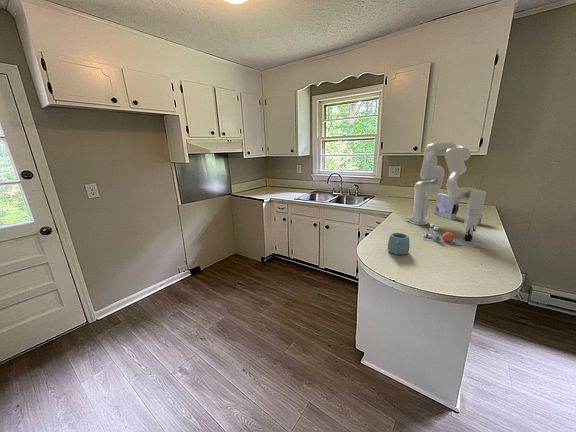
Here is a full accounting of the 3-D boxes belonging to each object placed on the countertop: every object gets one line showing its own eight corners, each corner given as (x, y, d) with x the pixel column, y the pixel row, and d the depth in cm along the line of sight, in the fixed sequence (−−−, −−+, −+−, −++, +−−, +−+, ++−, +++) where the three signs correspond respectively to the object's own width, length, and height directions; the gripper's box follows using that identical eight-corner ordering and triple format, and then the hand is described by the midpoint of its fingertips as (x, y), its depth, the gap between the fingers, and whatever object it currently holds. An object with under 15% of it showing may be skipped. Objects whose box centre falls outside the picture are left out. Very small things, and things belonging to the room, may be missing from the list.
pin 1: (428, 237, 154) (430, 224, 152) (428, 235, 157) (430, 223, 154) (432, 237, 153) (434, 225, 151) (432, 236, 155) (434, 224, 153)
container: (475, 225, 174) (479, 208, 170) (463, 222, 181) (467, 205, 177) (481, 223, 177) (484, 206, 174) (469, 221, 184) (472, 204, 180)
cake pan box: (457, 219, 188) (461, 197, 183) (451, 220, 187) (455, 198, 182) (438, 213, 206) (441, 193, 201) (433, 213, 205) (436, 193, 200)
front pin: (439, 239, 149) (423, 237, 153) (438, 239, 152) (423, 237, 155) (439, 235, 150) (424, 233, 153) (439, 235, 152) (423, 233, 155)
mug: (406, 261, 124) (408, 243, 121) (383, 256, 130) (385, 239, 127) (409, 250, 136) (412, 233, 134) (389, 246, 142) (390, 230, 139)
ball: (447, 234, 142) (457, 239, 142) (446, 228, 147) (455, 233, 146) (440, 240, 146) (449, 245, 146) (439, 234, 151) (448, 239, 150)
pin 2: (432, 240, 149) (434, 227, 147) (431, 239, 151) (433, 226, 149) (436, 241, 148) (438, 228, 145) (436, 240, 150) (438, 227, 147)
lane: (423, 239, 151) (423, 239, 151) (423, 234, 159) (423, 234, 159) (483, 248, 136) (483, 248, 136) (480, 242, 145) (480, 242, 144)
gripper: (464, 207, 146) (458, 236, 151) (467, 213, 134) (461, 244, 139) (479, 209, 143) (473, 238, 148) (484, 215, 130) (477, 246, 135)
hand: (467, 241), depth 143 cm, fingers closed
